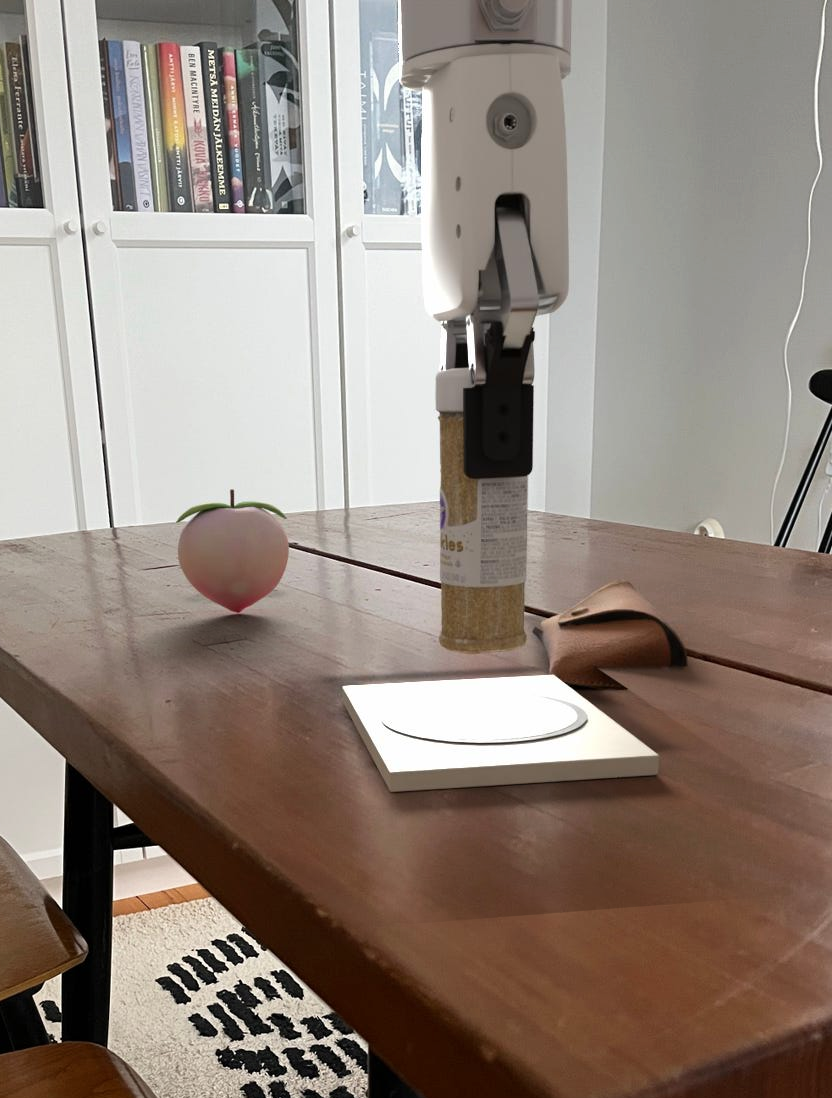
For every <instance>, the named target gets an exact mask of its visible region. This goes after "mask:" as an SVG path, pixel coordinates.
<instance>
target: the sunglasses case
mask: <svg viewBox="0 0 832 1098" xmlns="http://www.w3.org/2000/svg"><path fill="white" fill-rule="evenodd" d="M540 627H541V629H542V630H541V629H540V628H538V627H537V626H535V627H534V628H533V629H532V634H533V635H535V637H537V638H538V639H539V641H540V642H541V644H542V645H543V647H544V649H545V652H546V654H547V659H548V662H549V674H548V675H555V676H556V677H557V678H558V679H560V680H561V681H562V682H564V683H565V684H566V685H568V686H570V685H571V686H579V687H585V688H590V689H591V688H592V689H600V690H629V688H628V687H626V686H625V685H623V684H622V683H620V682H619V681H617V680H616V679H614V678H613V677H611V676H610V675H608V674H607V673H605V672H604V671H602V670H601V669H599V668H598V667H597V666H599V667H603V666H604V667H607V666H608V667H684V668H685V667H688V655H687V650H686V647H685V645H684V643H683V642H682V640H681V639H680V637H679V635H678V634H677V633H676V631H675V630H674V629H673V628H672V627H671V626H670V624H669V622H668V621H667V620H666V619H665V618H664V616H663V615H662V614H661V613H660V612H659V611H658V610H657V609H656V607H654V605H653V604H652V603H651V602H649V600H648V599H647V598H646V597H644V596H643V595H642V594H640V592H638V591H637V589H636V588H635V587H634V585H633V584H632V583H631V582H630V581H629V580H627V579H618V580H615V581H612V582H610V583H608V584H605V585H604V586H602V587H601V588H599V589H597V590H595V591H594V592H592V593H591V594H589V595H588V596H587V597H585V598H583V599H582V600H581V601H579V602H578V603H577V604H575V605H574V606H571V607H569V608H567V610H565V611H563V612H561V613H558V614H556V615H553V616H551V617H549V618H547V619H545V620H543V621H541V622H540Z"/></svg>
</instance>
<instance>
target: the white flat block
mask: <svg viewBox="0 0 832 1098" xmlns="http://www.w3.org/2000/svg"><path fill="white" fill-rule="evenodd" d="M341 688H342V689H341V693H342V695H341V697H342V703H343V706H344V708H345V709H346V711H347V713H348V715H349V716H350V718H351V720H352V723H353V724H354V726H355V728H356V730H357V732H358V733H359V736H360V737H361V739H362V741H363V743H364V745H365V747H366V749H367V750H368V753H369V754H370V756H371V758H372V760H373V762H374V765H376V767H377V770H378V772H379V773H380V776H381V777H382V779H383V781H384V783H385V784H386V786H387V789H388V790H389V792H390V793H400V792H416V791H429V790H445V789H447V790H448V789H461V788H462V789H463V788H479V787H493V786H494V787H495V786H509V785H523V784H524V785H525V784H538V783H540V784H541V783H554V782H570V781H584V780H585V781H586V780H601V779H618V777H619V778H633V777H649V776H658V775H659V765H660V755H659V754H658V753H656V752H655V751H654V750H653V749H651V748H650V747H649V746H648V745H647V744H645V743H644V742H643V741H641V740H640V739H638V738H637V737H636V736H635V735H633V734H632V733H631V732H629V731H628V730H626V729H625V728H624V727H623V726H621V725H620V724H619V723H618V722H616V721H615V720H613V719H612V718H611V717H610V716H608V715H607V714H606V713H605V712H603V711H602V710H600V709H599V708H597V706H595V705H594V704H592V702H590V701H589V700H587V698H585V697H584V696H582V695H581V694H579V693H578V692H577V691H576V690H575V689H573V688H572V687H570V685H569V684H565V683H564V682H562V681H561V680H560V679H558V678H557V677H556V676H555V675H550V674H545V675H544V674H541V675H525V676H508V677H506V676H505V677H489V678H488V677H487V678H486V677H485V678H470V679H469V678H468V679H467V678H466V679H449V680H433V681H432V680H431V681H414V682H397V683H396V682H395V683H378V684H376V683H375V684H360V685H359V684H358V685H357V684H356V685H343V686H342V687H341Z"/></svg>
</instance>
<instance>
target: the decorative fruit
mask: <svg viewBox="0 0 832 1098" xmlns="http://www.w3.org/2000/svg"><path fill="white" fill-rule="evenodd" d="M229 497H230V501H229V502H230V504H227V503H224V502H207V503H201V504H197V505H194V506H192V507H190V508H188V509H186V511H184V512H183V513H182V514H181V515H179V517H178V518H177V520H176V524H178V523H180V522H182V521H184V520H185V519H186V518H188V517H190V516H192V517H190V519H189V520H188V521H187V522H186V524H184V527H183V528H182V530H181V533H180V535H179V539H178V544H177V558H178V563H179V567H180V569H181V571H182V573H183V575H184V576H185V578H186V580H187V581H188V582H189V584H190V585H191V586H192V587H193V588H194V589H195V590H196V591H197V592H198V593H199V594H201V596H203V597H204V598H206V599H208V600H209V601H210V602H212V603H215V604H217V605H218V606H220V607H222V608H224V609H227V610H229V611H230V612H234V613H237V614H240V613H241V612H242V611H244V610H245V609H246V608H249V607H252V606H253V605H254V604H256V603H258V602H259V601H260V600H262V599H264V598H265V597H267V596H268V595H270V594H271V592H273V591H274V590H275V589H276V588H277V586H278V585H279V583H280V582H281V580H282V577H283V576H284V573H285V571H286V568H287V565H288V560H289V554H290V543H289V537H288V533H287V532H286V530H285V528H284V526H283V525H282V524H281V523H280V522H279V520H278V519H277V518H276V517H275V516H274V515H273V514H275V515H277V516H278V517H280V518H282V519H285V520H287V519H288V518H287V517H286V516H285V514H284V513H283V511H282V510H280V509H279V508H278V507H276V506H274V505H273V504H269V503H266V502H262V501H256V500H248V501H247V500H246V501H241V502H238V503H237V504H235V489H234V488H233V489H232V488H231V489H230V490H229ZM270 512H271V513H270ZM272 513H273V514H272Z"/></svg>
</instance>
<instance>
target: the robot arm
mask: <svg viewBox="0 0 832 1098" xmlns="http://www.w3.org/2000/svg"><path fill="white" fill-rule="evenodd" d="M397 1H398V43H399V45H398V48H399V49H398V50H399V51H398V53H399V83H400V85H401V86H402V87H403V88H404V89H406V90H409V91H411V92H412V91H413V92H416V93H421V94H422V128H421V129H422V133H421V140H420V147H421V263H422V264H421V267H422V268H421V269H422V284H423V285H422V287H423V288H422V289H423V298H424V300H423V301H424V308H425V310H426V312H427V314H428V315H429V316H430V317H431V318H432V319H434V320H436V321H437V322H439V323H440V322H441V323H440V324H441V333H440V335H441V338H440V361H439V362H440V364H439V371H442V370H449V369H453V368H469V371H470V383H471V386H472V388H463V470H464V474H465V475H466V476H467V477H468V478H471V479H483V478H504V477H524V476H528V477H529V475H531V473H532V471H533V468H534V405H535V404H534V403H535V402H534V399H535V398H534V397H535V396H534V395H535V394H534V393H535V390H534V389H535V385H534V381H535V353H534V352H535V349H534V342H535V339H536V331H535V327H533V326H534V323H535V320H536V317H538V316H544V315H548V314H552V313H554V312H556V311H557V310H558V309H560V307H561V306H563V304H564V303H565V301H566V300H567V297H568V295H569V288H570V262H569V261H570V255H569V254H570V251H569V245H570V244H569V195H568V193H569V192H568V191H569V190H568V188H569V187H568V155H567V154H568V153H567V135H566V134H567V131H566V117H565V115H566V114H565V113H566V112H565V105H564V104H565V102H564V91H563V81H562V80H564V79H566V78H567V76H569V75H570V74H571V72H572V71H571V70H572V68H571V67H572V66H571V65H572V58H571V55H572V13H573V12H572V11H573V9H572V8H573V0H397ZM440 439H441V438H440V437H439V440H440ZM440 445H441V442H440V441H439V446H440ZM440 459H441V456H440V455H439V460H440ZM439 464H440V463H439ZM440 466H441V464H440Z"/></svg>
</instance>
